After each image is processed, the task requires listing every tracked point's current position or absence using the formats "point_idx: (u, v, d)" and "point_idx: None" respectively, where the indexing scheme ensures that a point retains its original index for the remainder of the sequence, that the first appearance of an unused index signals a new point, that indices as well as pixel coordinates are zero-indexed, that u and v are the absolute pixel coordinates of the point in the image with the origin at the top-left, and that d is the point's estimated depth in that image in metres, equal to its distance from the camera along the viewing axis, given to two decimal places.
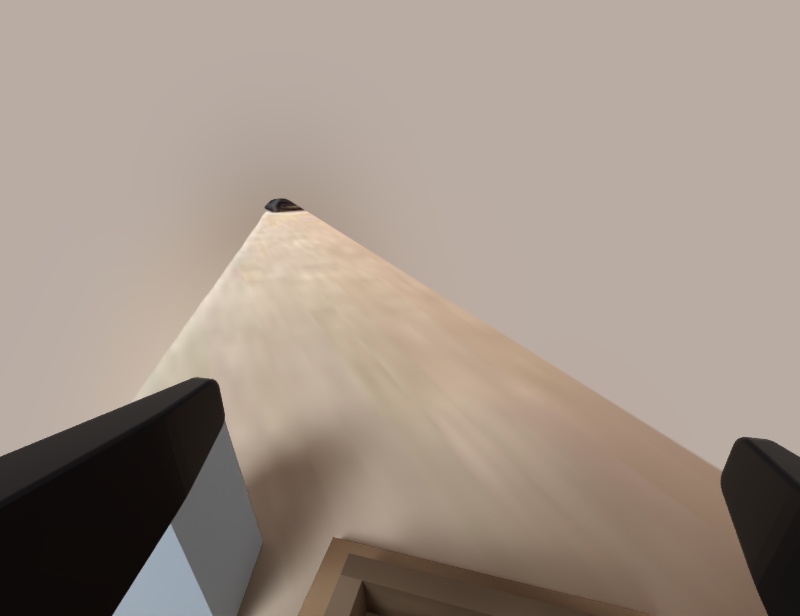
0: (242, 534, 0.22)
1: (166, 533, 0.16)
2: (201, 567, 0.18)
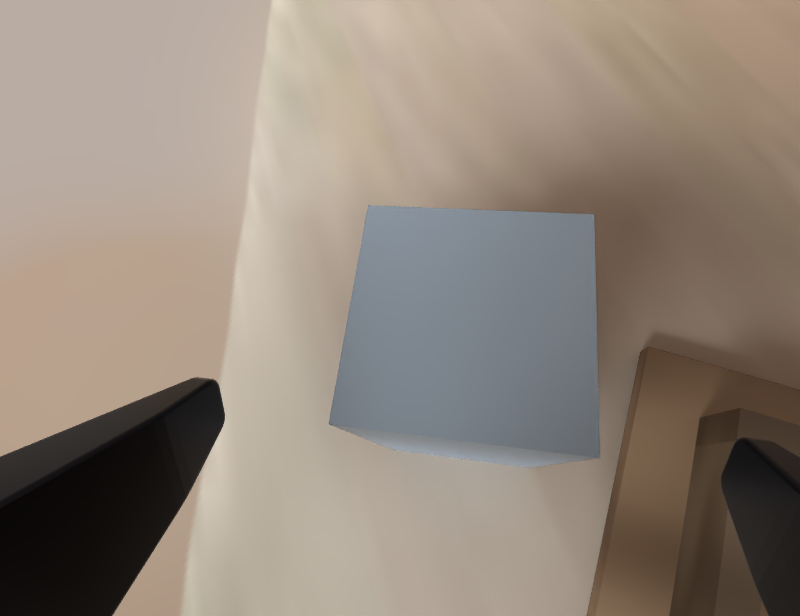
0: None
1: (565, 458, 0.09)
2: None
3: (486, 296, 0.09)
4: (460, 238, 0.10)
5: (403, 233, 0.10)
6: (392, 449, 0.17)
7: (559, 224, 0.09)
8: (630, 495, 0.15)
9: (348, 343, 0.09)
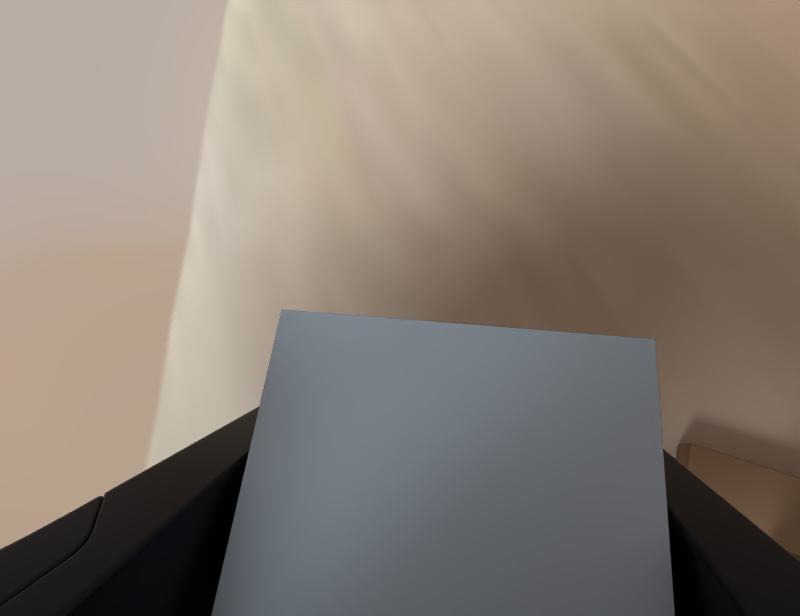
0: None
1: None
2: None
3: (470, 491, 0.05)
4: (429, 376, 0.06)
5: (335, 362, 0.06)
6: None
7: (595, 357, 0.06)
8: None
9: (229, 575, 0.05)
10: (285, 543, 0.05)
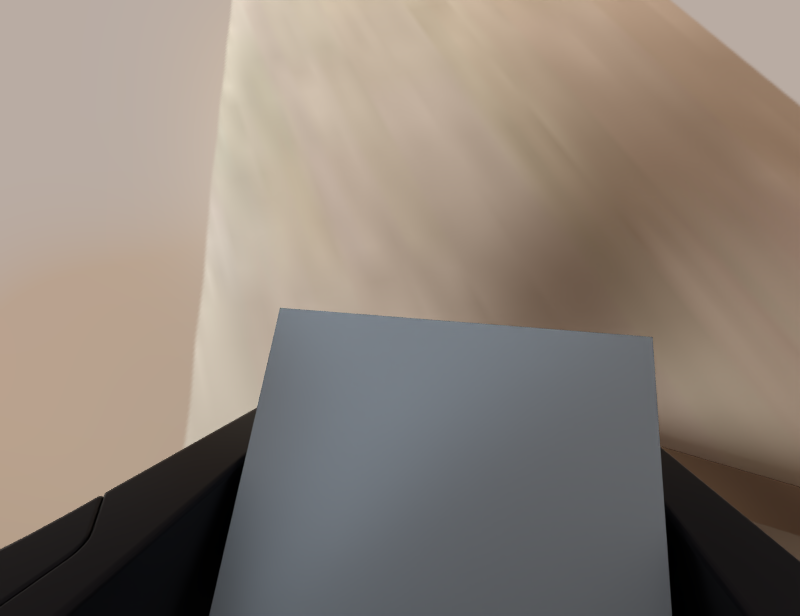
0: None
1: None
2: None
3: (467, 488, 0.05)
4: (426, 374, 0.06)
5: (333, 360, 0.06)
6: None
7: (592, 355, 0.06)
8: None
9: (227, 573, 0.05)
10: (283, 540, 0.05)
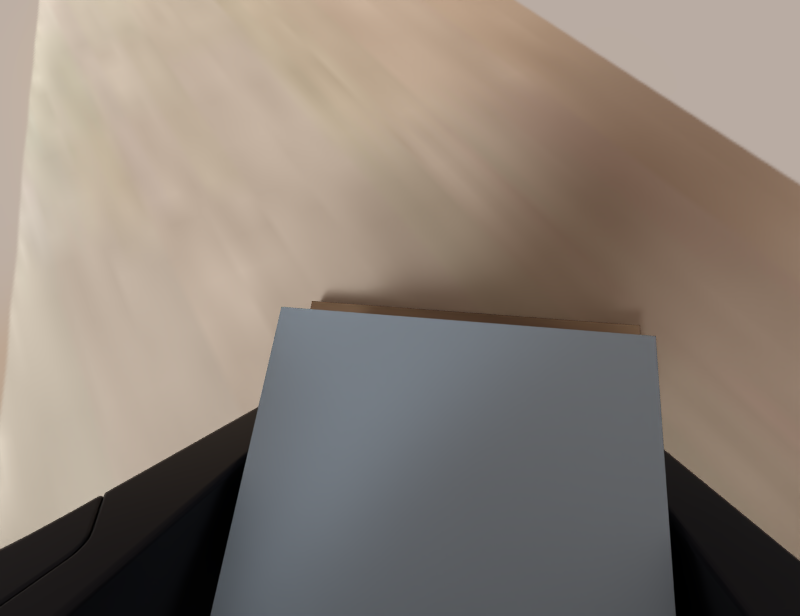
0: None
1: None
2: None
3: (470, 488, 0.05)
4: (429, 373, 0.06)
5: (335, 359, 0.06)
6: None
7: (595, 354, 0.06)
8: None
9: (228, 572, 0.05)
10: (285, 540, 0.05)
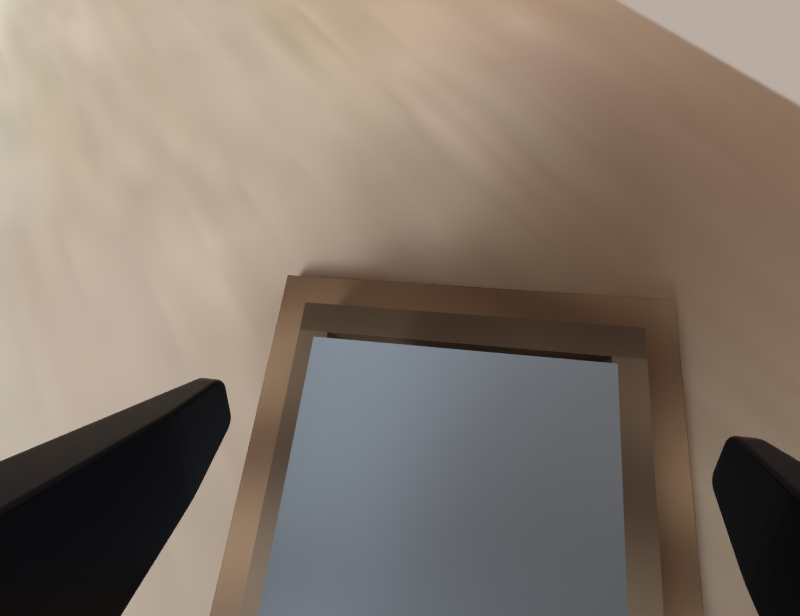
0: None
1: None
2: None
3: (468, 485, 0.07)
4: (436, 393, 0.07)
5: (359, 381, 0.07)
6: None
7: (569, 378, 0.07)
8: (267, 402, 0.17)
9: (277, 552, 0.07)
10: (321, 527, 0.07)
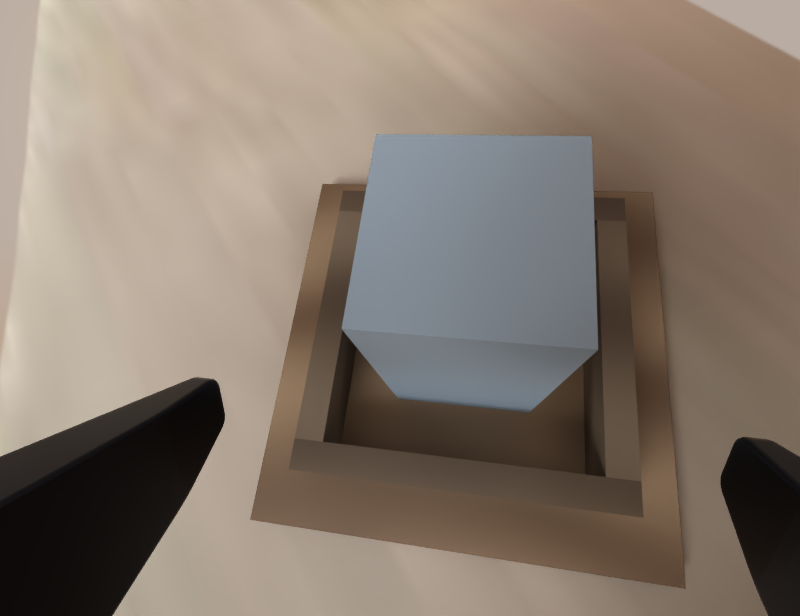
0: None
1: (565, 363, 0.09)
2: None
3: (489, 211, 0.10)
4: (465, 161, 0.10)
5: (410, 158, 0.10)
6: (397, 397, 0.17)
7: (558, 146, 0.10)
8: (308, 282, 0.20)
9: (359, 256, 0.10)
10: (388, 241, 0.10)
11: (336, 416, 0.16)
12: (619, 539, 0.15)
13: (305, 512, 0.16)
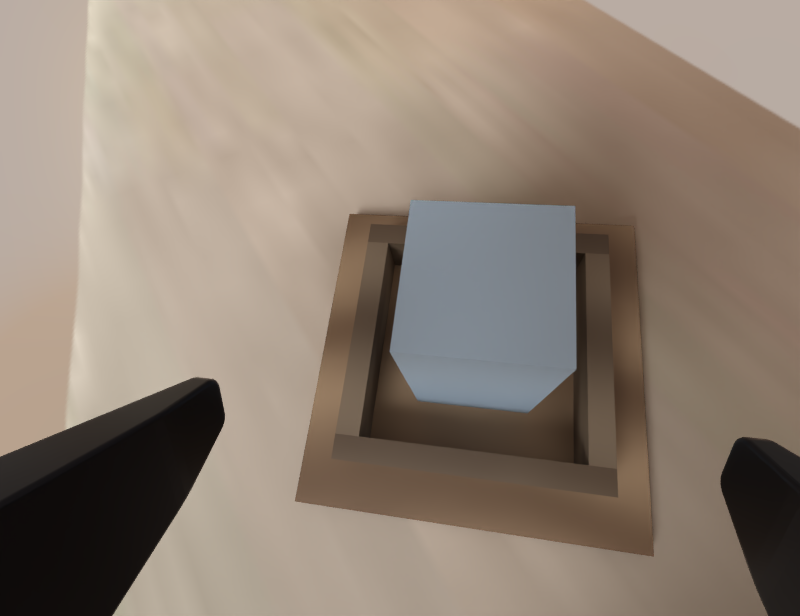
0: None
1: (554, 377, 0.13)
2: None
3: (498, 263, 0.13)
4: (479, 224, 0.13)
5: (437, 220, 0.14)
6: (417, 399, 0.20)
7: (550, 213, 0.13)
8: (339, 301, 0.23)
9: (401, 297, 0.13)
10: (423, 285, 0.13)
11: (367, 415, 0.20)
12: (600, 517, 0.18)
13: (341, 495, 0.20)
